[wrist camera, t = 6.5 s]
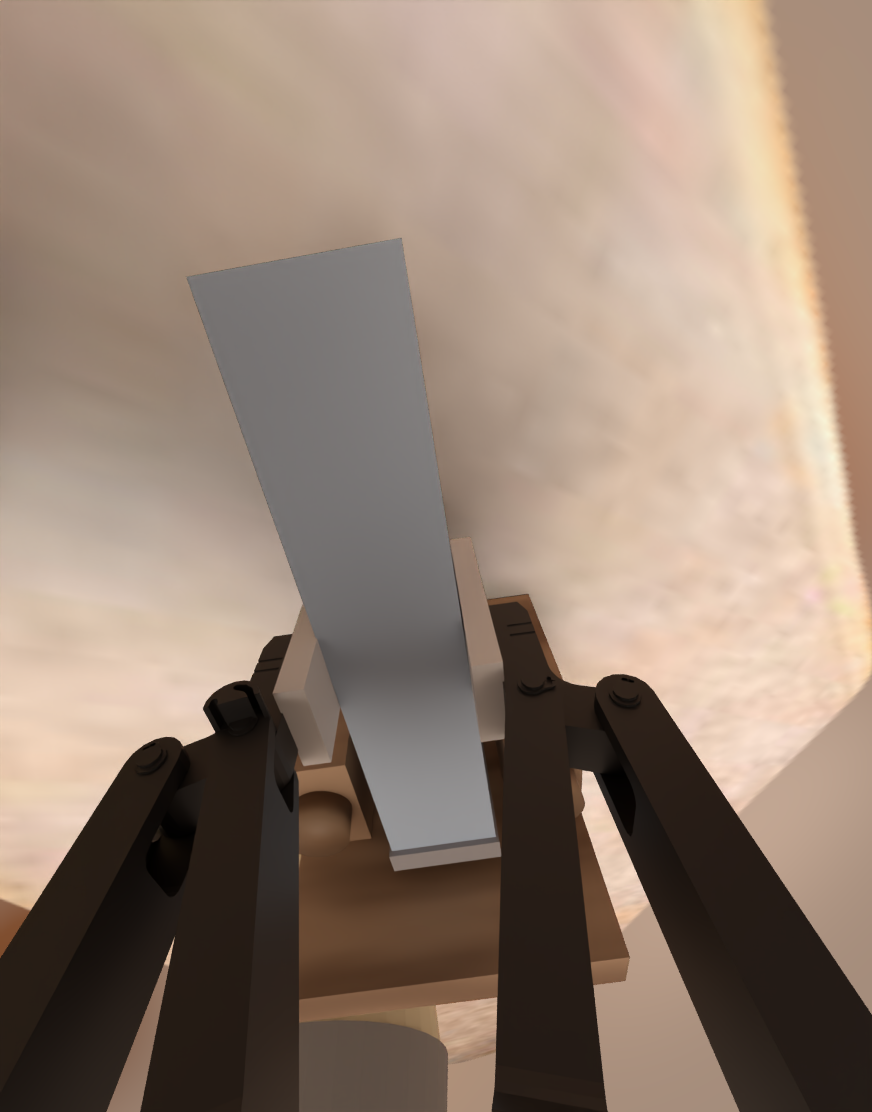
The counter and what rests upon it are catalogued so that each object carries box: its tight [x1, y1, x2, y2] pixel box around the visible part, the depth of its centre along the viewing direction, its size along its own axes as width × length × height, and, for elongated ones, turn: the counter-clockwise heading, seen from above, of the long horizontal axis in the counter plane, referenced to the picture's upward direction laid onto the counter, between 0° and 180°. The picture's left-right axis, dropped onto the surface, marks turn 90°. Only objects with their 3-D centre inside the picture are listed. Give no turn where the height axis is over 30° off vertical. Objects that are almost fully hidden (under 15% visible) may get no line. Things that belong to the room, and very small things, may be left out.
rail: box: [187, 238, 501, 871], centre depth 15 cm, size 20×4×5 cm, turn 9°
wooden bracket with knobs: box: [294, 594, 630, 1022], centre depth 21 cm, size 7×12×14 cm, turn 98°
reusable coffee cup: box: [299, 854, 448, 1112], centre depth 29 cm, size 13×12×15 cm
